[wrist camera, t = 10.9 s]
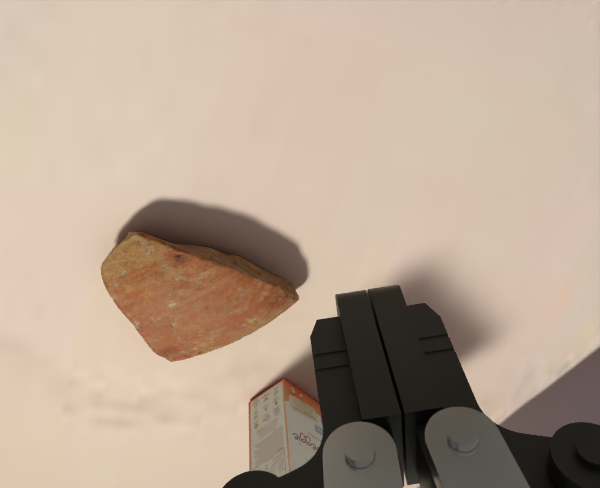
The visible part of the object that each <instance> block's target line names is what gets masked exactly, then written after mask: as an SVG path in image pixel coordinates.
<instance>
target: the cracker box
mask: <svg viewBox="0 0 600 488" xmlns="http://www.w3.org/2000/svg"><path fill="white" fill-rule="evenodd" d="M322 437H323V425H322V418H321V410H320V404H319V403H318V402H317V401H315V400H314V399H312V398H311V397H310V396H308V395H307V394H305V393H304V392H303V391H301V390H300V389H298V388H297V387H296V386H294V385H293V384H291V383H290V382H289V381H287V380H286V379H284V378H283V379H282V380H281V381H279V382H278V383H276V384H275V385H273V386H272V387H270V388H269V389H267V390H266V391H265V392H263V393H262V394H260V395H259V396H257V397H256V398H254V399H253V400H252V401H250V402H249V471H255V470H260V471H266V472H270V473H272V474H274V475H276V476H277V477H281V476H283V475H285V474H287V473H289V472H291V471H293V470H295V469H297V468H299V467H301V466H302V465H304V464H305V463H306V462H308V461H309V460H310V459H311V458H312V457H313V456H314V455H315V453H316V452H317V450H318V448H319V446H320V444H321V441H322Z"/></svg>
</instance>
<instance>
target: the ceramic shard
mask: <svg viewBox="0 0 600 488" xmlns="http://www.w3.org/2000/svg"><path fill="white" fill-rule="evenodd" d="M101 275H102V279H103V282H104V285H105V287H106V289H107V291H108V293H109V295H110V296H111V297H112V298H113V300H114V302H115V304H116V305H117V307H118V308H119V309H120V310H121V311H122V313H123V314H124V315H125V316H126V317H127V318H128V319H129V321H130V322H131V323H132V324H133V325H134V326H135V328H136V330H137V331H138V332H139V333H140V335H141V336H142V337H143V339H144V340H145V341H146V343H147V344H148V346H149V347H150V348H151V349H152V351H153V352H155V353H156V354H157V355H159V356H161V357H164V358H166V359H167V360H169V361H171V362H172V361H178V360H184V359H187V358H191V357H193V356H197V355H200V354H204V353H207V352H210V351H212V350H215V349H218V348H221V347H223V346H226V345H228V344H230V343H233V342H235V341H237V340H239V339H241V338H242V337H244V336H246V335H249V334H251V333H253V332H254V331H256V330H258V329H259V328H261V327H263V326H264V325H266V324H268V323H269V322H271V321H272V320H273V319H275V318H276V317H277V316H279V315H280V314H281V313H283V312H284V311H286V310H287V309H288V308H289V307H291V306H292V305H293V304H294V303H296V302H297V301H298V300H299V296H298V294H297V292H296V290H295V288H294V287H293V286H292V284H291V283H289V282H287V281H286V280H285V279H283V278H281V277H279V276H276V275H273V274H271V273H269V272H266V271H265V270H264V269H262V268H260V267H257V266H255V265H254V264H253V263H250V262H249V261H247V260H246V259H244V258H242V257H240V256H237V255H230V254H228V253H222V252H219V251H216V250H214V249H212V248H209V247H205V246H199V245H188V244H179V245H178V244H175V243H170V242H167V241H165V240H161V239H159V238H157V237H155V236H152V235H150V234H147V233H145V232H142V231H141V232H136V231H132V232H129V233H128V234H127V237H126V238H125V239H124V240H123V241H122V242H120V243H119V244H118V246H115V247H114V248H113V250H112V251H111V252H110V254H109V255H108V256H107V258H106V259H105V260H104V262H103V263H102V266H101Z"/></svg>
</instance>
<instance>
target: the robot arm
mask: <svg viewBox="0 0 600 488" xmlns="http://www.w3.org/2000/svg"><path fill="white" fill-rule="evenodd" d="M335 298H336V306H337V314H338V317H332V318H326V319H319V320H317V321H316V324H315V326H314V329H313V331H312V334H311V337H310V339H311V346H312V353H313V360H314V367H315V374H316V382H317V389H318V396H319V403H320V410H321V418H322V425H323V437H322V441H321V444H320V446H319V448H318V450H317V452H316V453H315V455H314V456H313V457H312V458H311V459H310V460H309V461H308V462H306V463H305V464H304V465H302V466H301V467H299V468H297V469H295V470H293V471H291V472H289V473H287V474H285V475H283V476H281V477H277V476H276V475H274V474H272V473H270V472H266V471H260V470H255V471H248V472H244V473H242V474H240V475H237V476H236V477H234V478H232V479H231V480H230V481H229V482H228V483H226V485H225V486H224V487H223V488H403V486H404V474H405V478H406V481H407V485H411V484H417V483H420V487H421V488H600V425H597V424H592V423H584V422H578V423H571V424H568V425H565V426H563V427H561V428H560V429H558V431H556V432H555V434H554V435H553V437H545V436H537V435H530V434H523V433H518V432H514V431H510V430H507V429H505V428H503V427H501V426H499V425H497V424H496V423H494V422H493V421H492V420H491V419H490V418H489V417H487V416H486V415H485V414H484V413H483V412H482V410H481V409H480V407H479V405H478V404H477V401H476V399H475V397H474V394H473V392H472V390H471V387H470V385H469V383H468V380H467V378H466V376H465V373H464V371H463V369H462V366H461V364H460V362H459V359H458V357H457V355H456V352H454V348H453V345H452V343H451V341H450V338H448V334H447V331H446V329H445V327H444V324H443V322H442V320H441V317H440V316H439V315H438V314H437V313H435V312H434V311H433V310H432V309H431V308H430V307H429V306H428V305H427V304H425V303H422V304H415V305H409V306H407V305H406V302H405V299H404V297H403V294H402V291H401V289H400V286H399V285H393V286H387V287H381V288H374V289H368V291H367V292H366V290H362V291H356V292H349V293H343V294H336V295H335Z"/></svg>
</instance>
